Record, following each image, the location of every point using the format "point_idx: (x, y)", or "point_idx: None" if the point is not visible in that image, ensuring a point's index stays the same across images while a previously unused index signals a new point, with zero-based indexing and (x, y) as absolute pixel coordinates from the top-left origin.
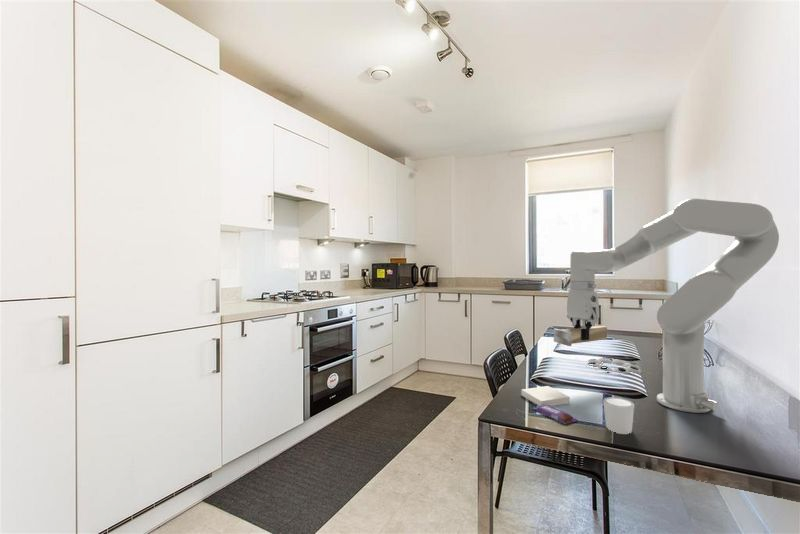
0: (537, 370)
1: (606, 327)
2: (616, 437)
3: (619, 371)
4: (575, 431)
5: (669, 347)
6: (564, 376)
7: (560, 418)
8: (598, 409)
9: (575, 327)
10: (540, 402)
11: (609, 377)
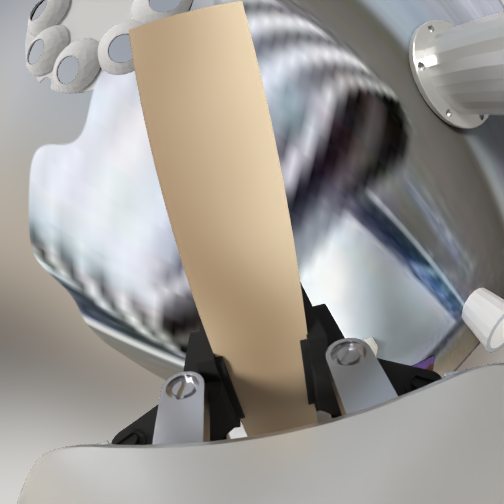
0: (94, 296)
1: (242, 10)
2: None
3: (171, 13)
4: (447, 367)
5: None
6: (162, 240)
7: None
8: (421, 295)
9: (239, 421)
10: None
11: None
